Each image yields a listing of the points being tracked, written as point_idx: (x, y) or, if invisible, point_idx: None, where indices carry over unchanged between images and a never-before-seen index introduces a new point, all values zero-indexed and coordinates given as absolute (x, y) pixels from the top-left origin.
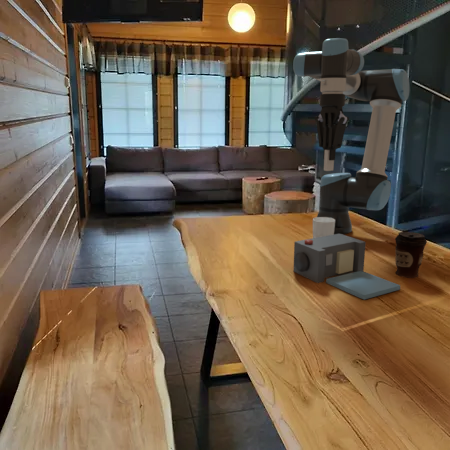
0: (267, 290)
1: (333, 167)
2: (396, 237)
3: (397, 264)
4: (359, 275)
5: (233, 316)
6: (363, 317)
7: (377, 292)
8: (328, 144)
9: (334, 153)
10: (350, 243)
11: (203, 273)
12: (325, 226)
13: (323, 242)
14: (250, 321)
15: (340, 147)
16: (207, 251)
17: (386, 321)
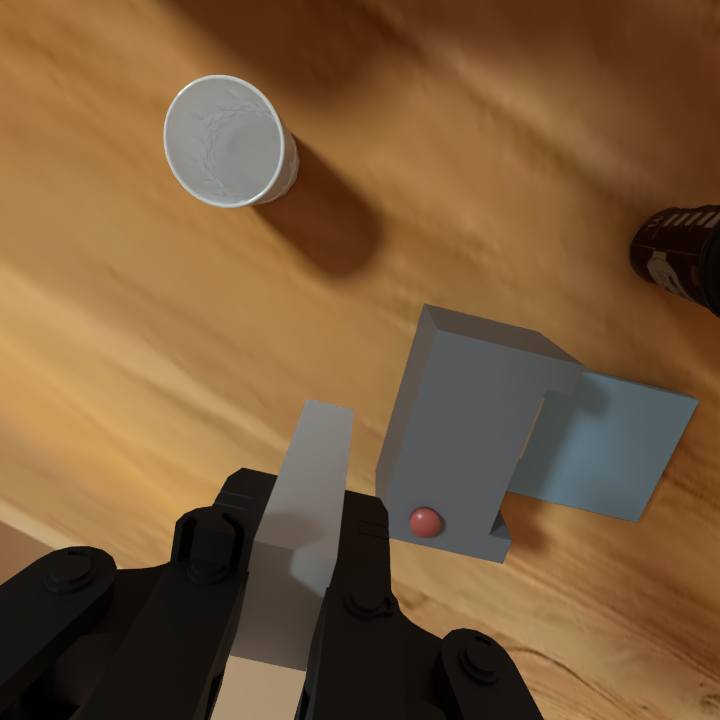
0: (405, 594)
1: (352, 422)
2: (713, 295)
3: (663, 287)
4: (564, 406)
5: None
6: (656, 572)
7: (656, 480)
8: (170, 631)
9: (384, 575)
10: (536, 408)
11: None
12: (272, 191)
13: (458, 477)
14: None
15: (499, 649)
16: (57, 500)
17: (706, 557)
